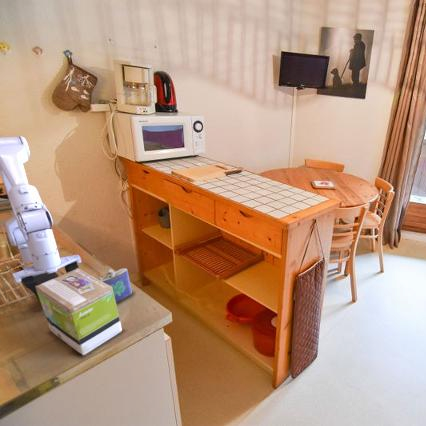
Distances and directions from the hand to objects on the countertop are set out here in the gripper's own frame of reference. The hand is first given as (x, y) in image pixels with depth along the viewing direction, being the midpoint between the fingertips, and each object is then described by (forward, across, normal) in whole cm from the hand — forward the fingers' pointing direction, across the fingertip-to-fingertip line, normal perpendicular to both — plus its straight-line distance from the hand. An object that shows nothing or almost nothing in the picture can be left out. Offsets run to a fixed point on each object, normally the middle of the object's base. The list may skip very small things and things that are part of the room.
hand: (56, 291), depth 92 cm
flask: (+3, +11, -12) cm, 16 cm away
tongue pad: (+3, 0, +9) cm, 10 cm away
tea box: (+3, +1, -20) cm, 20 cm away
